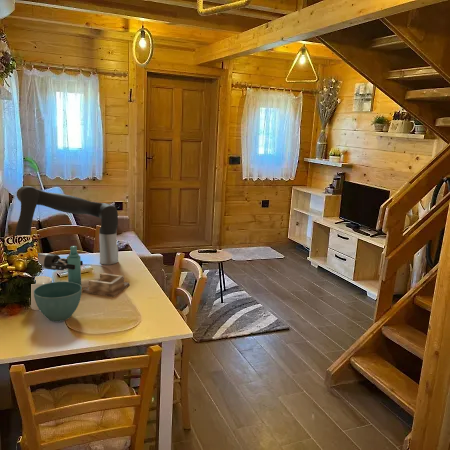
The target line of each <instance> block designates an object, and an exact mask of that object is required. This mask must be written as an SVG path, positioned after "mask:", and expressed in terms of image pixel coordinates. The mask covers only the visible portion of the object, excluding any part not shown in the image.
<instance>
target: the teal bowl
mask: <svg viewBox="0 0 450 450" xmlns="http://www.w3.org/2000/svg"><path fill="white" fill-rule="evenodd" d="M82 294H83V288H82V284H81V285H79V284H77V283H73V282H68V281H56V282H55V281H54V282H53V281H52V283H48V284H44V285H41V286H39V287H37V288H36V289H35V290H34V298H35V301H36V304H37V306H38V308H39V310H38V311H40V313H41V314H42V315H43V316H44V317H45V318H46V319H47V320H48V321H50V322H55V323H56V322H64V321H67V320H68V318H69V319H70V318H71V317H72V316H73V315H74V313H75V311H76V310H77V308H78V306H79V304H80V301H81V298H82ZM66 319H67V320H66Z"/></svg>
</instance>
